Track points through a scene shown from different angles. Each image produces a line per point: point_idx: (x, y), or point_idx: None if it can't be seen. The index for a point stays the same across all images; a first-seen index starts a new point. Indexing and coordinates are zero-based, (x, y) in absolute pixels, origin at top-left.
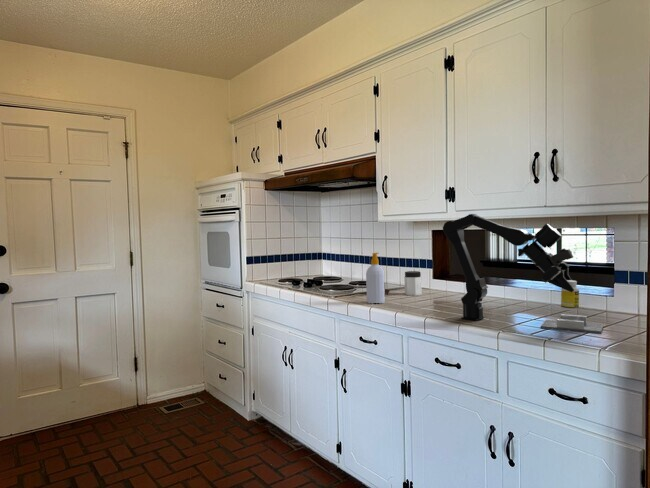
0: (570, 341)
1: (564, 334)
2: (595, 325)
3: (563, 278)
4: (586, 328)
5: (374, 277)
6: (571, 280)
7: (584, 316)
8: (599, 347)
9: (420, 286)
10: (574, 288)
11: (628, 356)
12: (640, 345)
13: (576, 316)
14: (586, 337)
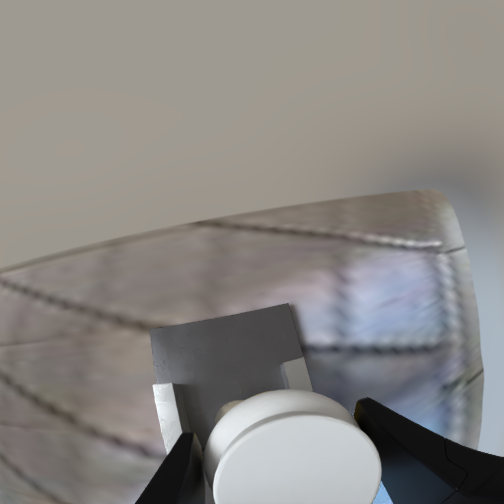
0: (441, 332)
1: (380, 391)
2: (188, 347)
3: (493, 457)
4: (271, 359)
5: None
6: (236, 496)
7: (165, 391)
8: (436, 258)
9: None
10: (336, 409)
11: (442, 203)
12: (350, 197)
13: (180, 421)
14: (371, 322)
